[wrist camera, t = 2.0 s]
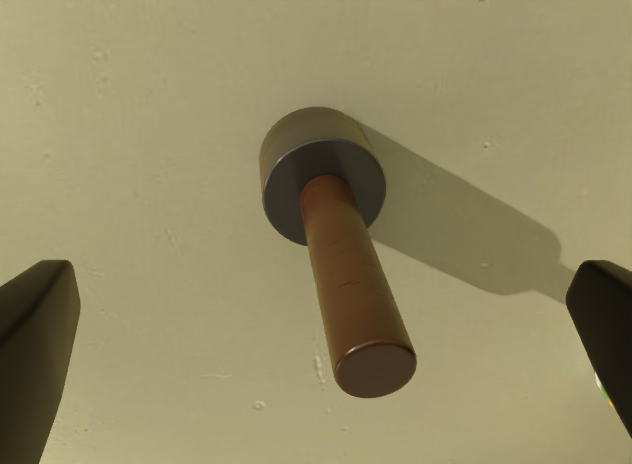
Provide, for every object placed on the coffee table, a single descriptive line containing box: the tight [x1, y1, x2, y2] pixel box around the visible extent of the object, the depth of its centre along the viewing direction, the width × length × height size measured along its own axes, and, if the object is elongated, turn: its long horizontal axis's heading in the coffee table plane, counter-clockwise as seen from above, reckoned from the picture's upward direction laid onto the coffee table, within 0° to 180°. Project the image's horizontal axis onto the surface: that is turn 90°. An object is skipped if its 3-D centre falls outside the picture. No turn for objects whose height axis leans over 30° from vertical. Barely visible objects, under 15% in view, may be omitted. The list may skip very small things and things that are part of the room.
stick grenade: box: [259, 107, 417, 398], centre depth 10 cm, size 3×3×7 cm
